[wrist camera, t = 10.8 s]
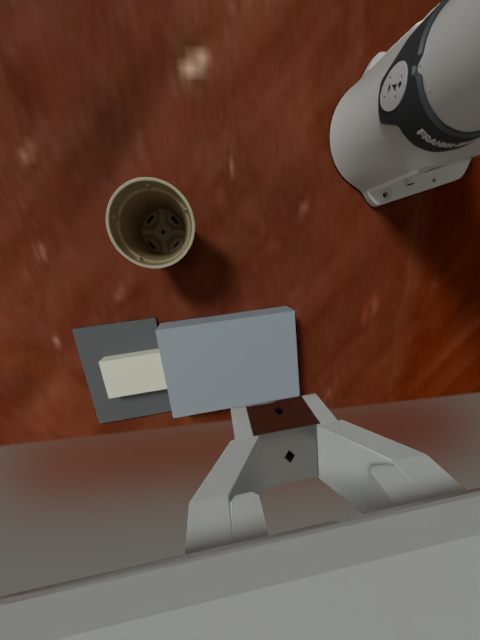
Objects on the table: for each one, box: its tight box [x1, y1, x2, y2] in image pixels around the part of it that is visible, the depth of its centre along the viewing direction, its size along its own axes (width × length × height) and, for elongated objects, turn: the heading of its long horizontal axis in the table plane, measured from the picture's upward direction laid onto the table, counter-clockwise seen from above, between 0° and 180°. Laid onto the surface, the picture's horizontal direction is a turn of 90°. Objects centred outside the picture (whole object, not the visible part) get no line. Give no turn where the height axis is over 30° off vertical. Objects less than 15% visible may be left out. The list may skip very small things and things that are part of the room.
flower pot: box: [106, 177, 195, 269], centre depth 31 cm, size 9×9×9 cm
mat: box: [72, 318, 172, 424], centre depth 39 cm, size 12×16×1 cm
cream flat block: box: [99, 349, 167, 399], centre depth 38 cm, size 9×6×2 cm, turn 97°
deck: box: [155, 306, 300, 418], centre depth 39 cm, size 20×14×4 cm
